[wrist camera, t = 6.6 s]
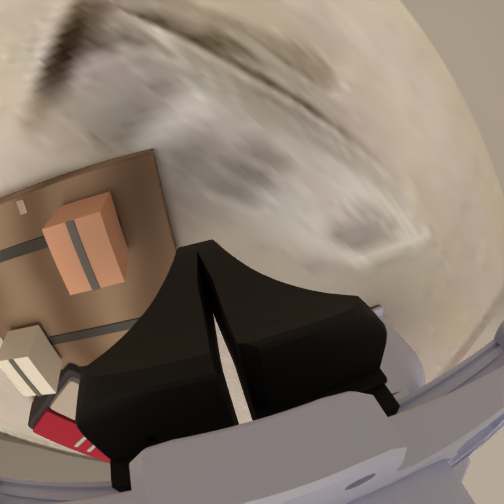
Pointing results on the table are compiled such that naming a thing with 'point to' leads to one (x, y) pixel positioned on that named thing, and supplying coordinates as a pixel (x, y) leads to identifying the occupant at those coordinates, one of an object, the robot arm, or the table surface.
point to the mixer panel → (48, 276)
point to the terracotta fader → (88, 244)
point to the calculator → (62, 414)
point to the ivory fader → (30, 361)
